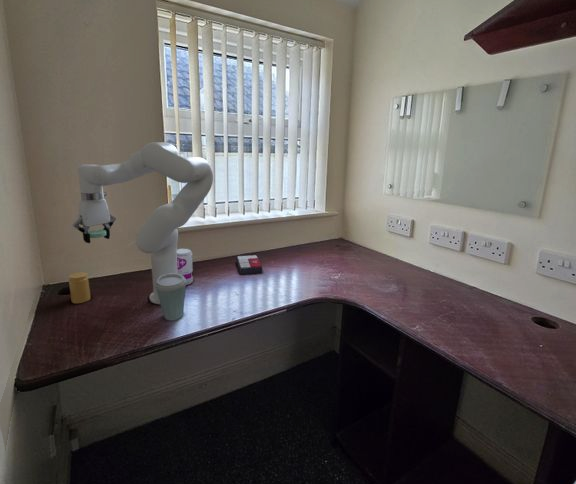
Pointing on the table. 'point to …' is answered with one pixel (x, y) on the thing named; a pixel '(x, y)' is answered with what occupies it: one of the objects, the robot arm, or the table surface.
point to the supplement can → (185, 264)
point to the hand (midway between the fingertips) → (97, 239)
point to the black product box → (249, 264)
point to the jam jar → (79, 287)
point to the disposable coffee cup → (171, 294)
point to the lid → (97, 233)
